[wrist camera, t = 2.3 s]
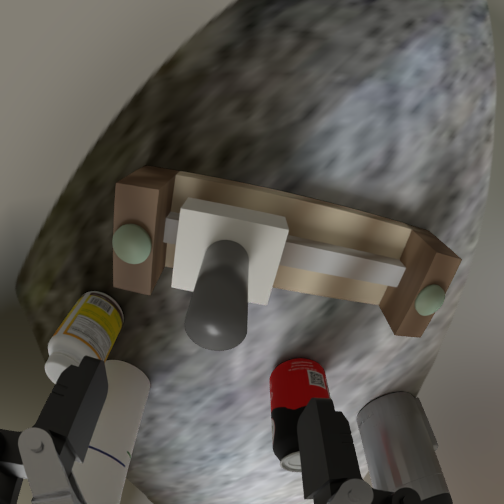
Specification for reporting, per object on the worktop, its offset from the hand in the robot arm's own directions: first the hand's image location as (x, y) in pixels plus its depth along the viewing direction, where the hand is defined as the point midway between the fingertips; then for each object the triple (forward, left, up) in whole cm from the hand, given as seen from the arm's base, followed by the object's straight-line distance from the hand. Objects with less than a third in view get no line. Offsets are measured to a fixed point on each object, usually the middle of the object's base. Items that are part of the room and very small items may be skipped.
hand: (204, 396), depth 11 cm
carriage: (0, 0, -14) cm, 14 cm away
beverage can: (-10, +16, -17) cm, 26 cm away
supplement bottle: (+12, +12, -17) cm, 24 cm away
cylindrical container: (+10, +23, -17) cm, 30 cm away
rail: (-5, 0, -17) cm, 18 cm away
